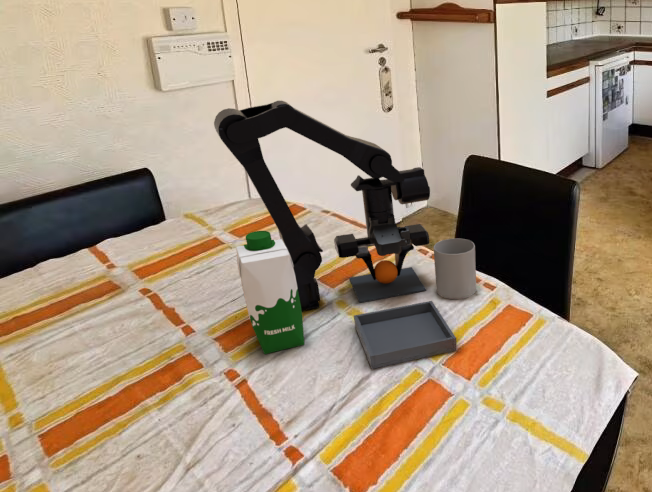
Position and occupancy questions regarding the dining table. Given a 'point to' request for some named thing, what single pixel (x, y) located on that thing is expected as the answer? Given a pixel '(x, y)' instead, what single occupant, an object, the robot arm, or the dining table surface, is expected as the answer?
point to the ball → (385, 271)
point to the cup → (455, 268)
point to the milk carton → (270, 292)
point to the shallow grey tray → (404, 334)
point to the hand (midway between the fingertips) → (386, 277)
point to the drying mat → (386, 286)
